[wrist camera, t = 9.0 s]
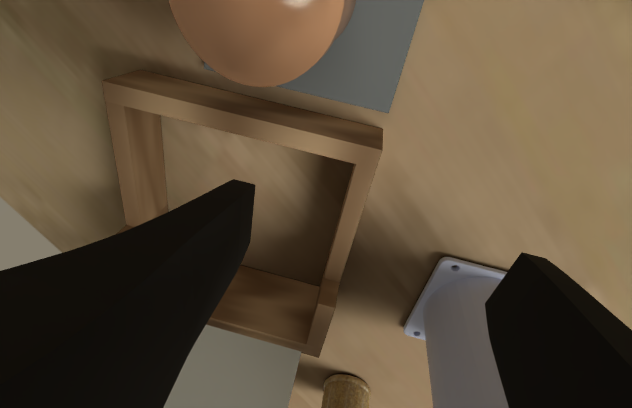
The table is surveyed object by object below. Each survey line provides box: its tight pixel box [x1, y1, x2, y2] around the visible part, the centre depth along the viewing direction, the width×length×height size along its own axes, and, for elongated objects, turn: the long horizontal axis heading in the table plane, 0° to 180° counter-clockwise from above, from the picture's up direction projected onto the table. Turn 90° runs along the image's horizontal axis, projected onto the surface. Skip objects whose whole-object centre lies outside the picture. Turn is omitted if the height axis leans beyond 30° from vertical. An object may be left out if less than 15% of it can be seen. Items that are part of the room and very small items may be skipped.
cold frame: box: [102, 70, 383, 358], centre depth 18 cm, size 14×16×11 cm
